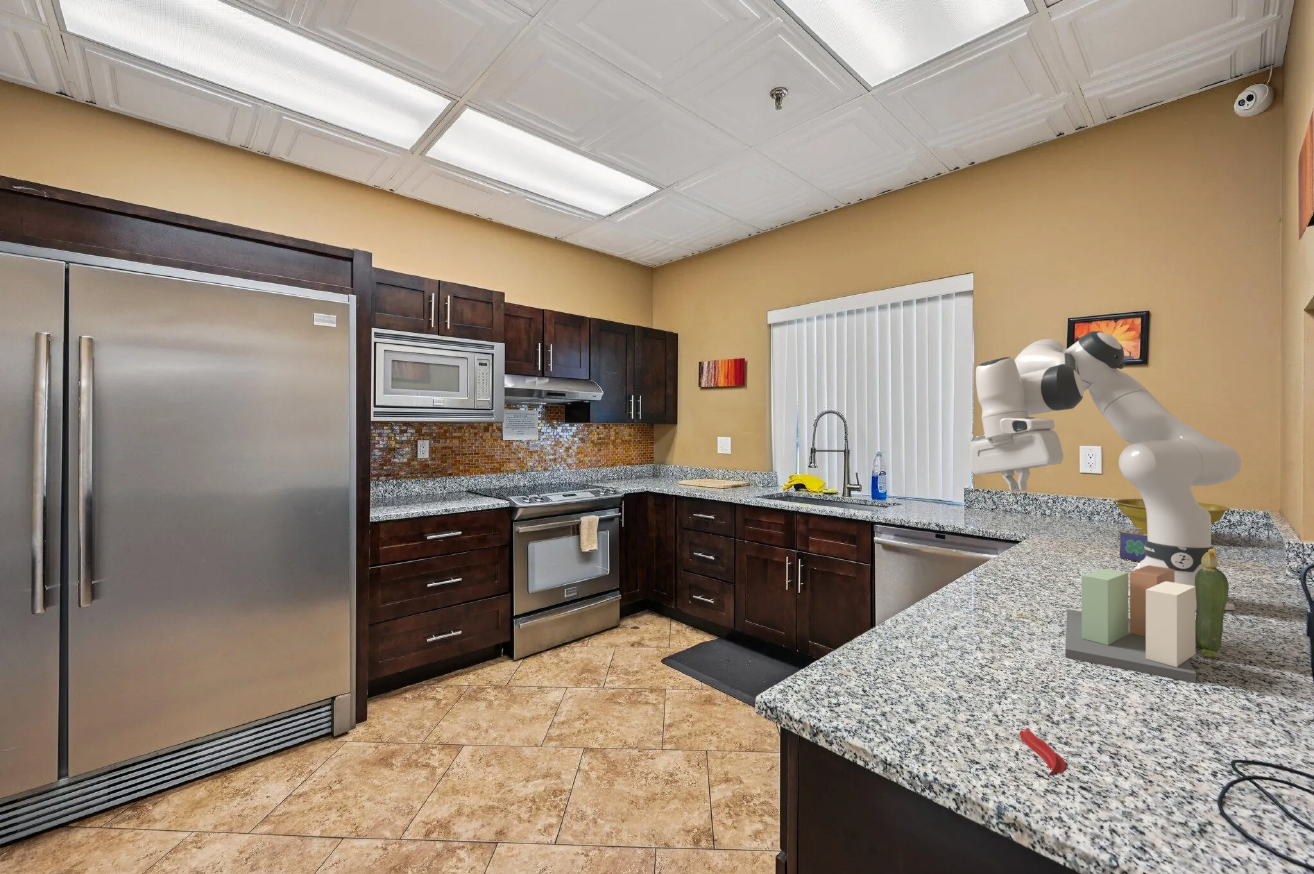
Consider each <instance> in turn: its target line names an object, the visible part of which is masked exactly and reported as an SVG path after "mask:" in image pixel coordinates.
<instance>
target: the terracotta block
mask: <svg viewBox="0 0 1314 874" xmlns="http://www.w3.org/2000/svg"><path fill="white" fill-rule="evenodd" d="M1165 581H1167V582H1173V583H1175V569H1170V568H1163V567H1157V566H1150V565H1148V566H1145V567H1142V568H1139V569H1137V570H1134V569H1133V570H1131V571H1130V572H1129V588H1130V596H1129V619H1130V633H1131V634H1136V635H1140V636H1144V637H1146V589H1149V588H1151V587H1153V586H1155V585H1158V584H1160V583H1162V582H1165Z"/></svg>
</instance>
